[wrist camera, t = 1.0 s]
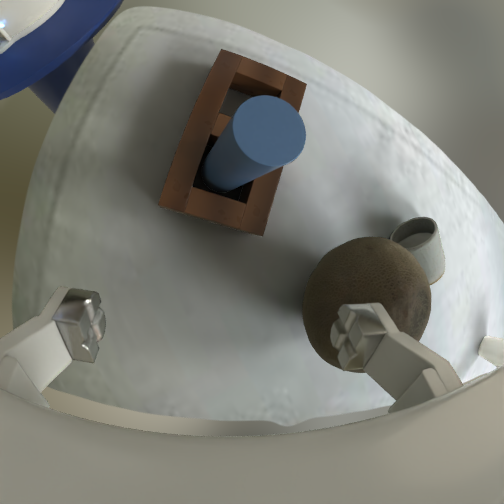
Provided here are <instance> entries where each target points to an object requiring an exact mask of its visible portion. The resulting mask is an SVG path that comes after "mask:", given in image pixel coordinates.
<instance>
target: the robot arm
mask: <svg viewBox="0 0 504 504" xmlns="http://www.w3.org/2000/svg"><path fill="white" fill-rule="evenodd" d="M64 1H65V0H0V54H2V53H3V52H4V51H6V50H7V49H8V48H9V47H10V46H11V45H12V44H13V43H14V42H16V41H17V40H19V39H20V38H22V37H24V36H26V35H27V34H29V33H30V32H32V31H33V30H35V29H36V28H38V27H39V26H40V25H42V24H43V23H44V22H45V21H46V20H48V19H49V18H50V17H51V16H52V15H53V14H54V13H55V12H56V11H57V10H58V9H59V8H60V7H61V5H62V4H63V3H64ZM100 304H101V298H100V295H99V293H98V292H95V291H89V290H82V289H76V288H68V287H62V286H60V287H58V288H57V289H56V291H55V292H54V294H53V295H52V297H51V298H50V300H49V301H48V303H47V304H46V306H45V308H44V309H43V311H42V312H41V314H40V316H39V317H36V316H35V317H33V318H32V319H30V320H29V321H27V322H25V323H24V324H22V325H20V326H19V327H17V328H16V329H14V330H13V331H11V332H9V333H8V334H6V335H5V336H3V337H2V338H0V504H504V364H503V365H502V366H500V367H498V368H497V369H495V370H493V371H491V372H489V373H488V374H486V375H484V376H482V377H480V378H478V379H476V380H474V381H472V382H470V383H468V384H466V385H463V384H462V382H461V380H460V379H459V377H458V375H457V374H456V372H455V371H454V369H453V367H452V366H451V364H450V363H449V361H447V360H446V359H444V358H443V357H441V356H440V355H438V354H437V353H435V352H434V351H432V350H430V349H429V348H427V347H426V346H424V345H423V344H421V343H420V342H418V341H417V340H415V339H413V338H412V337H410V336H409V335H407V334H406V333H404V332H400V331H399V330H398V328H397V327H396V325H395V324H394V322H393V321H392V319H391V318H390V316H389V315H388V313H387V312H386V310H385V309H384V307H383V306H382V304H380V303H367V304H343V305H342V306H341V307H340V308H339V311H338V315H339V318H338V319H337V320H336V321H334V322H333V325H332V328H331V335H330V337H331V342H332V345H333V347H334V348H335V349H336V350H338V351H339V353H338V356H337V357H338V360H339V362H340V365H341V367H342V370H343V371H347V370H357V369H363V370H364V371H365V372H366V373H367V374H368V375H369V376H370V377H371V378H372V379H374V380H375V381H376V382H377V383H378V384H379V385H380V386H381V387H382V388H383V389H384V390H385V391H386V392H388V393H389V394H390V395H391V396H392V397H393V398H394V399H395V400H396V402H395V403H394V404H393V405H392V406H391V407H390V408H389V410H388V413H389V414H386V415H382V416H378V417H375V418H371V419H367V420H363V421H359V422H354V423H349V424H345V425H340V426H335V427H329V428H323V429H317V430H310V431H304V432H296V433H286V434H275V435H260V436H237V437H236V436H231V437H230V436H227V437H226V436H220V437H219V436H218V437H217V436H191V435H178V434H167V433H158V432H150V431H143V430H136V429H130V428H124V427H119V426H114V425H109V424H104V423H100V422H96V421H92V420H88V419H84V418H80V417H76V416H72V415H70V414H66V413H63V412H59V411H57V410H54V409H51V408H49V403H48V401H47V400H46V399H45V398H44V397H43V395H42V394H41V393H40V392H41V391H42V390H43V389H44V388H45V387H46V386H47V385H48V384H49V383H50V382H51V381H52V380H53V379H54V378H55V377H56V376H58V375H59V374H60V373H61V372H62V371H63V370H64V369H65V368H66V367H67V366H68V365H69V364H70V363H71V362H72V361H73V360H77V361H83V362H89V363H94V362H95V359H96V356H97V354H98V351H99V346H98V343H97V342H99V341H100V340H101V339H103V337H104V334H105V329H106V317H105V314H104V311H103V310H102V309H101V308H100V307H99V306H100Z"/></svg>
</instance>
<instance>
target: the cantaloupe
mask: <svg viewBox="0 0 504 504" xmlns="http://www.w3.org/2000/svg"><path fill="white" fill-rule="evenodd" d="M367 303H380V304H382V306H383V307H384V309H385V310H386V312H387V313H388V315H389V316H390V318H391V319H392V321H393V322H394V324H395V325H396V327H397V328H398V330H399V331H400V332H404V333H406V334H407V335H409V336H410V337H412V338H413V339H415V340H417V341H418V342H419V340H420V339H421V337H422V335H423V333H424V330H425V328H426V326H427V323H428V320H429V316H430V311H431V290H430V286H429V282H428V279H427V276H426V274H425V272H424V270H423V268H422V267H421V266H420V264H419V262H418V261H417V259H416V258H415V257H414V256H413V254H412V253H411V252H409V251H408V250H407V249H405V248H404V247H402V246H401V245H399V244H398V243H396V242H394V241H391V240H389V239H386V238H382V237H362V238H357V239H353V240H351V241H348V242H346V243H344V244H342V245H340V246H338V247H336V248H334V249H332V250H331V251H329V252H328V253H327V254H326V255H324V257H323V258H322V259H321V261H320V262H319V264H318V265H317V267H316V268H315V270H314V271H313V273H312V274H311V276H310V278H309V280H308V282H307V285H306V289H305V293H304V299H303V305H302V315H303V322H304V326H305V330H306V332H307V335H308V338H309V341H310V343H311V345H312V347H313V348H314V349H315V351H316V352H317V353H318V355H319V356H320V357H321V358H322V359H323V360H325V361H326V362H327V363H329V364H331V365H333V366H335V367H337V368H339V369H342V367H341V365H340V362H339V360H338V357H337V356H338V353H339V351H338V350H336V349H335V348H334V347H333V345H332V342H331V337H330V335H331V328H332V325H333V322H334V321H336V320H337V319H338V318H339V315H338V311H339V308H340V307H341V306H342V305H343V304H367ZM347 371H350V372H356V373H366V372H365V371H364V370H363V369H357V370H347Z"/></svg>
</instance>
